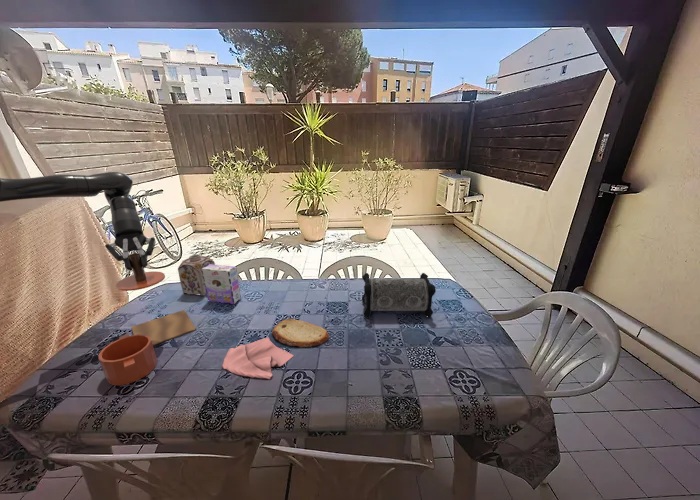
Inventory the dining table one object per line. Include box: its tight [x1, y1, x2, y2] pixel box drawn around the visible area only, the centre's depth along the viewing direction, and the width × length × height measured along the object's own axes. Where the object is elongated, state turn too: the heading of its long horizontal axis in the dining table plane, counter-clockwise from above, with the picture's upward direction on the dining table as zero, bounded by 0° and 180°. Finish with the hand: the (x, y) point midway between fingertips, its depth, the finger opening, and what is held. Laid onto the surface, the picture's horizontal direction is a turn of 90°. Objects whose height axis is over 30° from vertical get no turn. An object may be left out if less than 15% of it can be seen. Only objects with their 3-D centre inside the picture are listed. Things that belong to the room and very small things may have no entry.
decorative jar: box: [177, 254, 216, 296], centre depth 131 cm, size 12×12×18 cm
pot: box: [98, 333, 158, 386], centre depth 83 cm, size 12×18×8 cm
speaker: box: [361, 272, 437, 319], centre depth 115 cm, size 15×29×15 cm, turn 91°
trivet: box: [131, 309, 197, 347], centre depth 104 cm, size 18×18×1 cm
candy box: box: [202, 264, 242, 305], centre depth 122 cm, size 14×6×16 cm, turn 77°
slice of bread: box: [271, 318, 330, 348], centre depth 100 cm, size 18×18×4 cm
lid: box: [115, 252, 166, 292], centre depth 90 cm, size 13×13×10 cm
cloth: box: [221, 336, 295, 380], centre depth 88 cm, size 20×22×2 cm
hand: (137, 268), depth 88 cm, fingers closed on lid, 3 cm apart
